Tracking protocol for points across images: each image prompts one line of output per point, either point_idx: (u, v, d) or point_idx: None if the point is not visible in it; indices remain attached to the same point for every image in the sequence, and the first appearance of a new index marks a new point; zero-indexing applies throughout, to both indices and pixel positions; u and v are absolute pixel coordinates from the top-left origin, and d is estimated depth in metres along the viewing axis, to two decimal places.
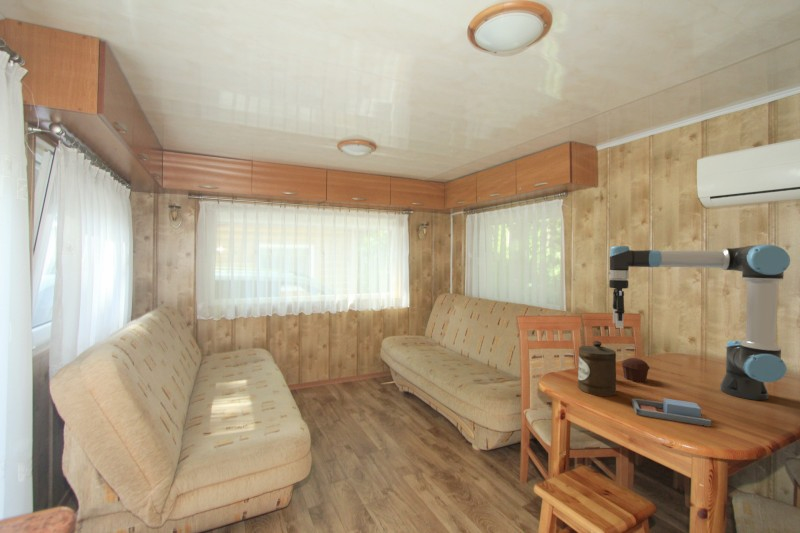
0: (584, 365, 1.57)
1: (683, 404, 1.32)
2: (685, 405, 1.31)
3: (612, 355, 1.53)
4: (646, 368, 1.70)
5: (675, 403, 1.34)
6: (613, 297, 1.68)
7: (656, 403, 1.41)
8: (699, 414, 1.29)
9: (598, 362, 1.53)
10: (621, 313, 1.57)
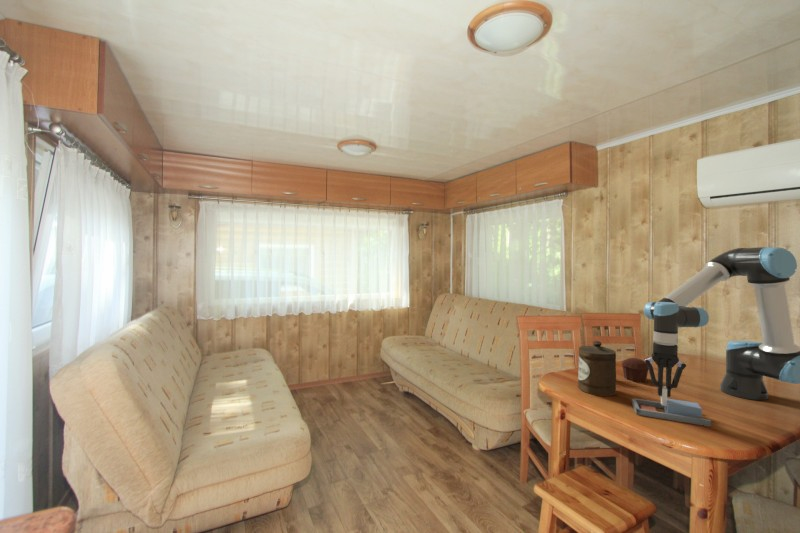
0: (584, 365, 1.57)
1: (684, 404, 1.32)
2: (686, 405, 1.31)
3: (612, 355, 1.53)
4: (646, 368, 1.70)
5: (676, 402, 1.34)
6: None
7: (656, 403, 1.41)
8: (700, 414, 1.29)
9: (598, 362, 1.53)
10: None
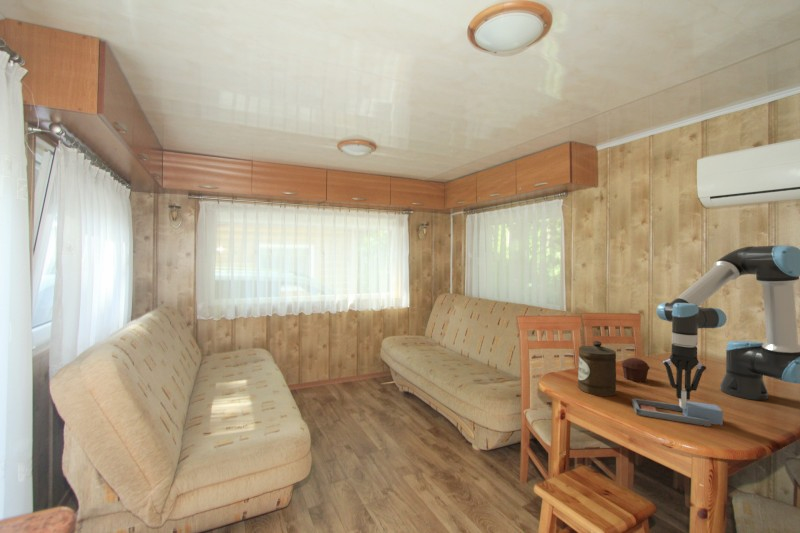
0: (584, 365, 1.57)
1: (703, 407, 1.30)
2: (706, 408, 1.29)
3: (612, 355, 1.53)
4: (646, 368, 1.70)
5: (695, 405, 1.32)
6: None
7: (656, 403, 1.41)
8: (721, 416, 1.27)
9: (598, 362, 1.53)
10: (676, 388, 1.34)
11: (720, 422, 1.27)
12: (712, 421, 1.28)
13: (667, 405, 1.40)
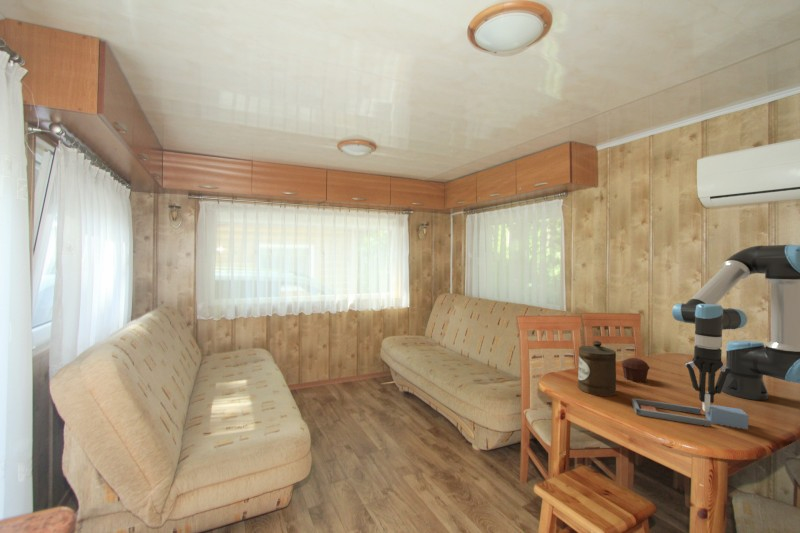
0: (584, 365, 1.57)
1: (728, 411, 1.27)
2: (731, 412, 1.26)
3: (612, 355, 1.53)
4: (646, 368, 1.70)
5: (719, 409, 1.29)
6: None
7: (656, 403, 1.41)
8: (746, 421, 1.24)
9: (598, 362, 1.53)
10: (699, 391, 1.31)
11: (746, 426, 1.24)
12: (737, 425, 1.25)
13: (667, 405, 1.40)
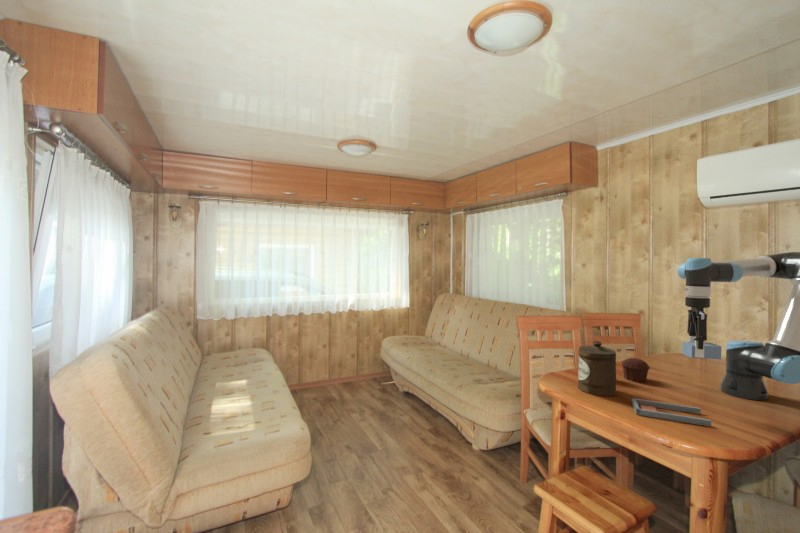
0: (584, 365, 1.57)
1: (704, 345, 1.39)
2: (707, 345, 1.38)
3: (612, 355, 1.53)
4: (646, 368, 1.70)
5: None
6: (690, 318, 1.43)
7: (656, 403, 1.41)
8: (720, 351, 1.37)
9: (598, 361, 1.53)
10: (702, 340, 1.36)
11: (719, 356, 1.37)
12: (712, 356, 1.38)
13: (667, 405, 1.40)
